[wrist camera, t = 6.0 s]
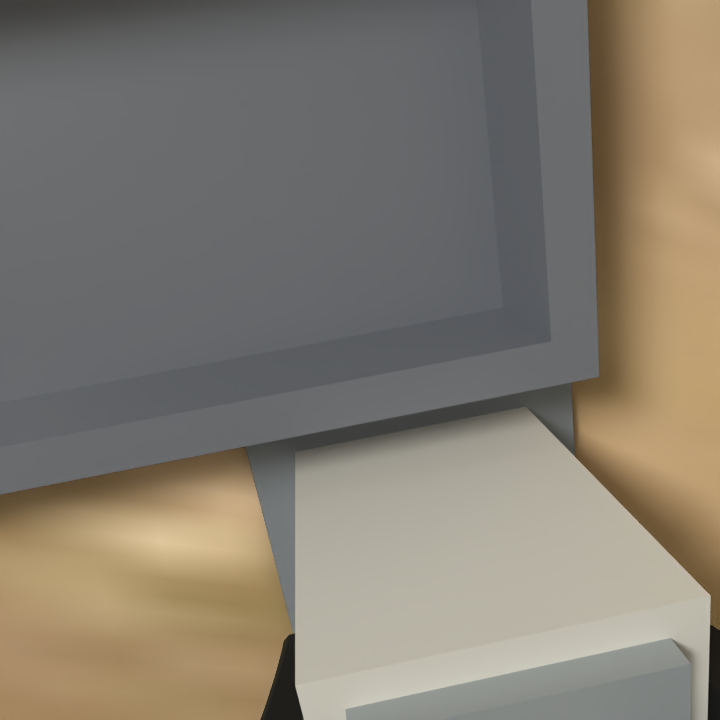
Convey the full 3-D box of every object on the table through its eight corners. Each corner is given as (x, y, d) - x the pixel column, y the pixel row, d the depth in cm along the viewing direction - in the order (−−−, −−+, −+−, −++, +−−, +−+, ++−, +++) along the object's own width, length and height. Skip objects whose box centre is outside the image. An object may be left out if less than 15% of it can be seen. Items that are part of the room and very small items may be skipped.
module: (541, 595, 14) (721, 907, 8) (337, 639, 14) (368, 993, 8) (525, 406, 13) (733, 620, 7) (295, 451, 13) (295, 716, 6)
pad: (578, 623, 15) (583, 631, 15) (307, 681, 15) (308, 691, 15) (564, 369, 13) (571, 374, 13) (244, 432, 13) (243, 438, 12)
